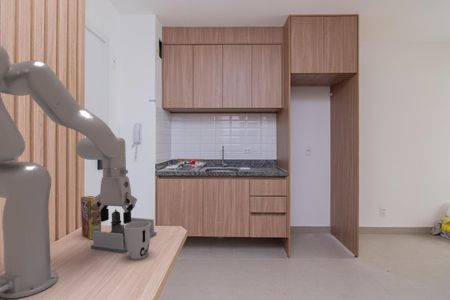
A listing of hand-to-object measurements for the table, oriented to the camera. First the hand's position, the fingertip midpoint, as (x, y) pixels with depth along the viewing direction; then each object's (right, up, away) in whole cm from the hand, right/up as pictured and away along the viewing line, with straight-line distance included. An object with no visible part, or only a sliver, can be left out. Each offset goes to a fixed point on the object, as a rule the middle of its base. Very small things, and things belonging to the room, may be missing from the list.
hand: (115, 221), depth 95 cm
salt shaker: (0, -8, 0) cm, 8 cm away
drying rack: (+2, -8, +5) cm, 10 cm away
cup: (+11, -9, -9) cm, 16 cm away
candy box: (-14, -9, +11) cm, 20 cm away
